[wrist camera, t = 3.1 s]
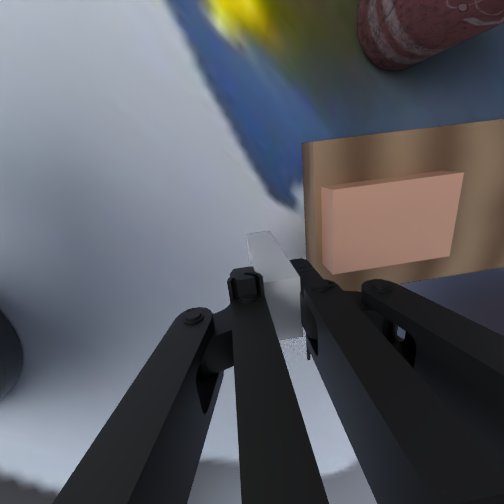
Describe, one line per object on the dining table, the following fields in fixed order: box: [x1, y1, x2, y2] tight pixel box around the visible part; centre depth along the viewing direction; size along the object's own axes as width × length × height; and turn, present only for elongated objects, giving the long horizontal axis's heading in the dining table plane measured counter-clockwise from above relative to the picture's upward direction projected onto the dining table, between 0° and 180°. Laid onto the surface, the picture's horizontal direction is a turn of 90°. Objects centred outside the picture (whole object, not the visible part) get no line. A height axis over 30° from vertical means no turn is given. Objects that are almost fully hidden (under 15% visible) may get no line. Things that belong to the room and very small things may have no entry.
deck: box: [302, 119, 504, 291], centre depth 21 cm, size 18×12×2 cm, turn 97°
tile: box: [321, 171, 464, 274], centre depth 19 cm, size 9×6×2 cm, turn 97°
